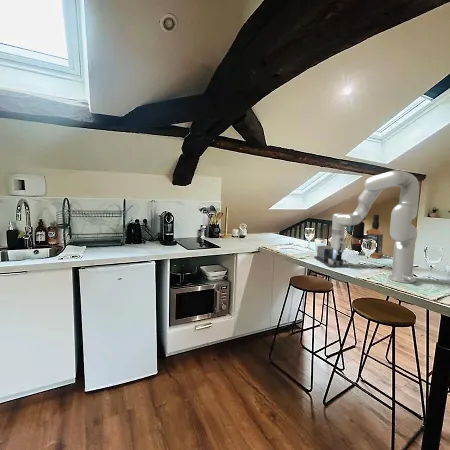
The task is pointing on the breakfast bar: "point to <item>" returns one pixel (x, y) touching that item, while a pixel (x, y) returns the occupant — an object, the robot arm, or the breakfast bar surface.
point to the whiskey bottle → (376, 237)
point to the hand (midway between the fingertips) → (336, 259)
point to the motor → (328, 257)
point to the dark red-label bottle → (358, 235)
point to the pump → (335, 255)
